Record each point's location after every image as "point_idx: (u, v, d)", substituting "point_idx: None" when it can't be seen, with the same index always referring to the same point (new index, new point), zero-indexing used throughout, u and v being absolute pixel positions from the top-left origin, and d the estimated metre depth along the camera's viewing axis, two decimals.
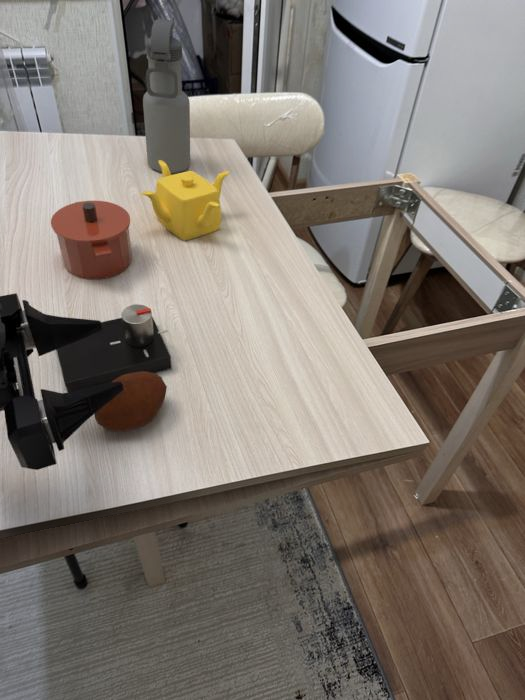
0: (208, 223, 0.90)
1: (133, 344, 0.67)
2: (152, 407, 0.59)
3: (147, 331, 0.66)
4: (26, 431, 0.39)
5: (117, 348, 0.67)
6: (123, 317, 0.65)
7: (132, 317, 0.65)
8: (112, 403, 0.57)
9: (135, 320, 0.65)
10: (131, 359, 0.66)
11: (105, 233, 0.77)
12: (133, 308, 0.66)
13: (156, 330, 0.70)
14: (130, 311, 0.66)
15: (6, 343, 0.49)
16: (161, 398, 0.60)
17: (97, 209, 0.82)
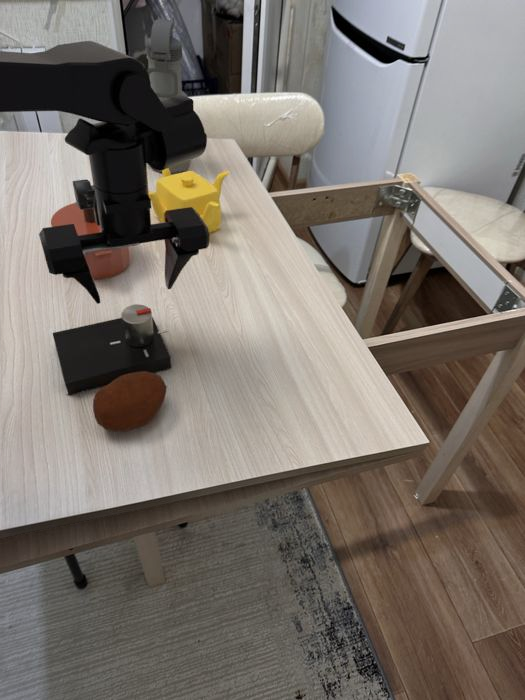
0: (208, 223, 0.90)
1: (133, 344, 0.67)
2: (152, 407, 0.59)
3: (147, 331, 0.66)
4: None
5: (117, 348, 0.67)
6: (123, 317, 0.65)
7: (132, 317, 0.65)
8: (112, 403, 0.57)
9: (135, 320, 0.65)
10: (131, 359, 0.66)
11: None
12: (133, 308, 0.66)
13: (156, 330, 0.70)
14: (130, 311, 0.66)
15: None
16: (161, 398, 0.60)
17: None
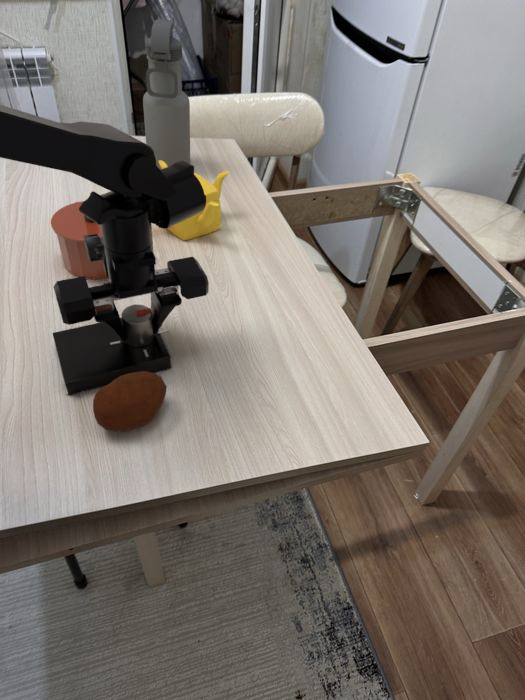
0: (208, 223, 0.90)
1: (133, 344, 0.67)
2: (152, 407, 0.59)
3: (147, 331, 0.66)
4: None
5: (117, 348, 0.67)
6: (123, 317, 0.65)
7: (132, 317, 0.65)
8: (112, 403, 0.57)
9: (135, 320, 0.65)
10: (131, 359, 0.66)
11: None
12: (133, 308, 0.66)
13: None
14: (130, 311, 0.66)
15: (97, 286, 0.61)
16: (161, 398, 0.60)
17: None
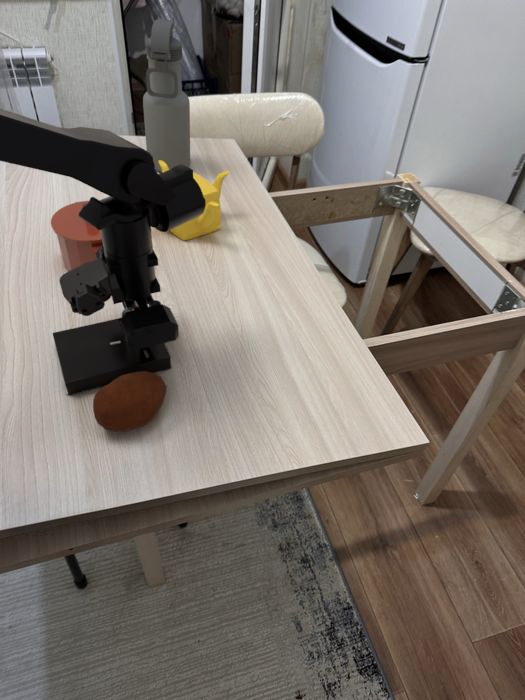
0: (208, 223, 0.90)
1: None
2: (152, 407, 0.59)
3: None
4: None
5: (117, 348, 0.67)
6: None
7: None
8: (112, 403, 0.57)
9: None
10: (131, 359, 0.66)
11: None
12: None
13: None
14: None
15: (138, 307, 0.60)
16: (161, 398, 0.60)
17: None
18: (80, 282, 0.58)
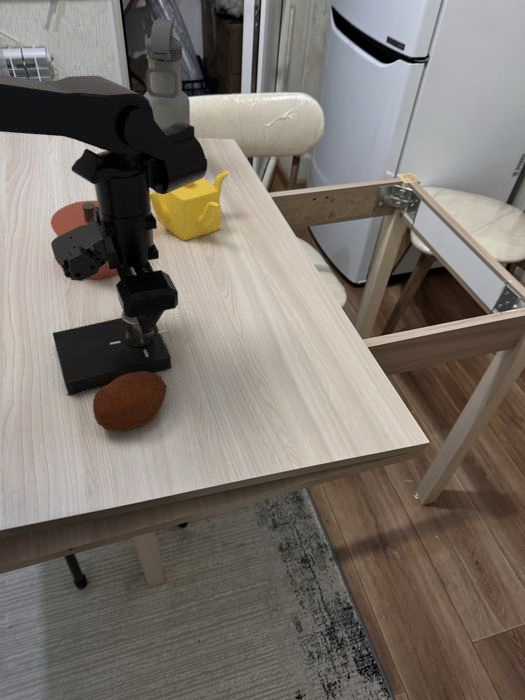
0: (208, 223, 0.90)
1: (152, 338, 0.68)
2: (152, 407, 0.59)
3: None
4: None
5: (117, 348, 0.67)
6: None
7: None
8: (112, 403, 0.57)
9: None
10: (131, 359, 0.66)
11: None
12: None
13: (156, 330, 0.70)
14: None
15: (135, 274, 0.56)
16: (161, 398, 0.60)
17: None
18: (73, 245, 0.54)
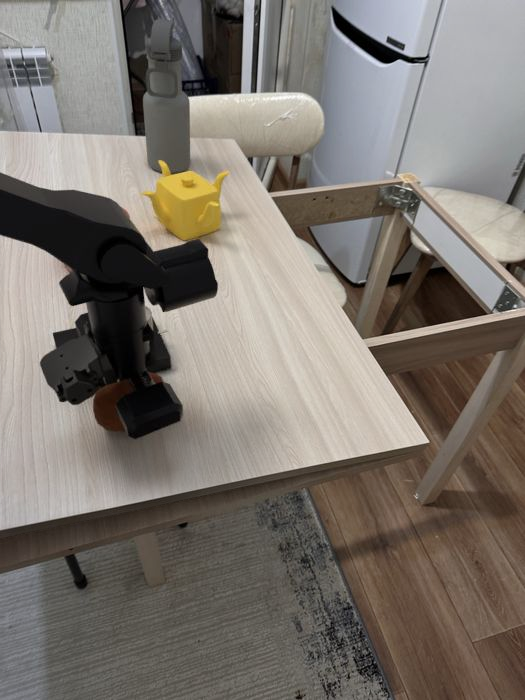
0: (208, 223, 0.90)
1: None
2: None
3: None
4: None
5: None
6: None
7: None
8: (112, 403, 0.57)
9: (146, 314, 0.66)
10: None
11: None
12: None
13: (156, 330, 0.70)
14: None
15: (134, 387, 0.53)
16: None
17: None
18: (66, 366, 0.50)
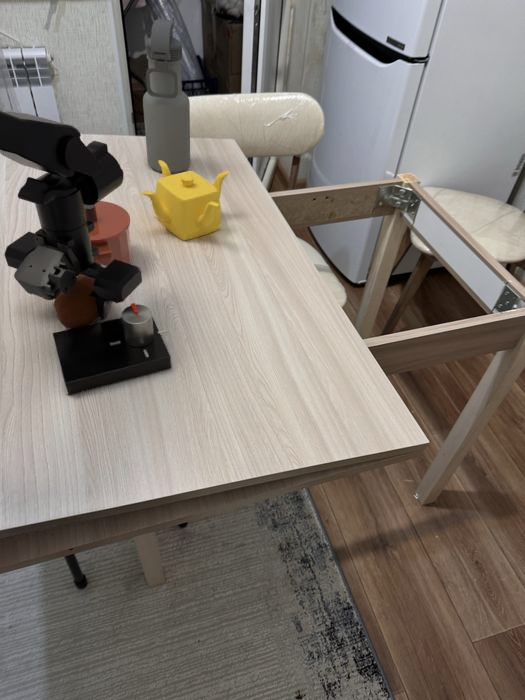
0: (208, 223, 0.90)
1: (152, 338, 0.68)
2: None
3: None
4: (5, 256, 0.68)
5: (117, 348, 0.67)
6: (141, 322, 0.65)
7: (142, 316, 0.66)
8: (75, 300, 0.69)
9: (146, 314, 0.66)
10: (131, 359, 0.66)
11: (105, 233, 0.77)
12: (128, 316, 0.65)
13: (156, 330, 0.70)
14: (132, 317, 0.65)
15: (97, 271, 0.66)
16: None
17: (97, 209, 0.82)
18: (41, 270, 0.61)
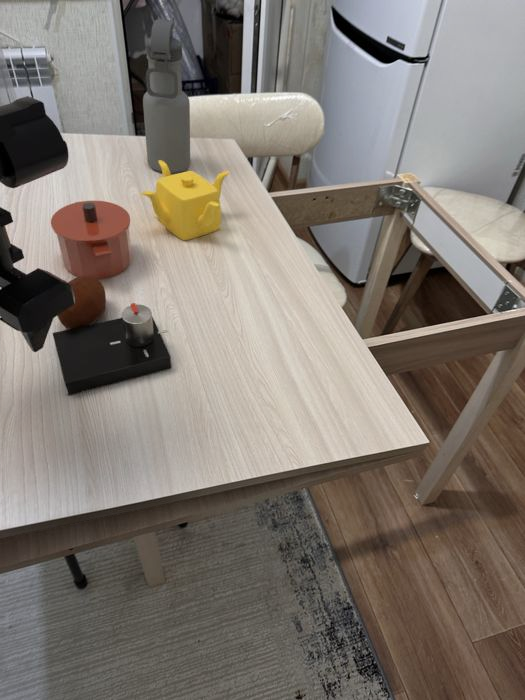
0: (208, 223, 0.90)
1: (152, 338, 0.68)
2: (103, 296, 0.72)
3: None
4: None
5: (117, 348, 0.67)
6: (141, 322, 0.65)
7: (142, 316, 0.66)
8: (75, 301, 0.69)
9: (146, 314, 0.66)
10: (131, 359, 0.66)
11: (105, 233, 0.77)
12: (128, 316, 0.65)
13: (156, 330, 0.70)
14: (132, 317, 0.65)
15: (8, 282, 0.46)
16: (104, 289, 0.74)
17: (97, 209, 0.82)
18: None
